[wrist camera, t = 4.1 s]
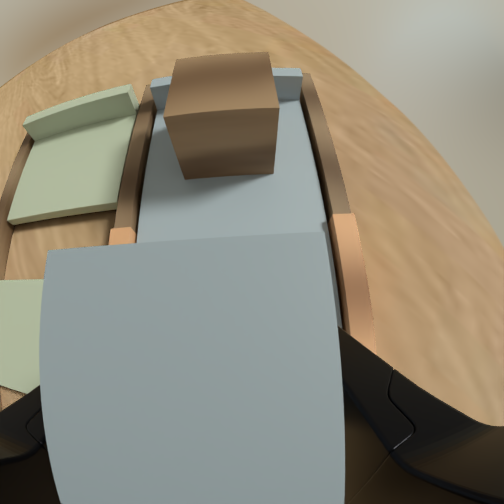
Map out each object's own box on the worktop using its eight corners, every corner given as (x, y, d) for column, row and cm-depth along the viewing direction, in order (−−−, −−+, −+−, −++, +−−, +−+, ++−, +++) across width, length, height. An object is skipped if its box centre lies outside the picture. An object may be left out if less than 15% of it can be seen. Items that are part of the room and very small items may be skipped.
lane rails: (358, 565, 8) (366, 579, 7) (24, 524, 8) (12, 530, 6) (308, 88, 20) (311, 71, 19) (42, 128, 20) (33, 116, 18)
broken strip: (114, 409, 12) (85, 417, 9) (-3, 382, 12) (-33, 379, 9) (142, 112, 19) (130, 83, 16) (42, 138, 19) (27, 116, 16)
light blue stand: (343, 404, 12) (533, 471, 2) (142, 412, 12) (-52, 469, 1) (296, 99, 19) (313, -44, 9) (161, 109, 19) (122, -27, 8)
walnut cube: (273, 173, 16) (279, 108, 11) (184, 179, 16) (163, 117, 11) (265, 114, 18) (267, 52, 13) (190, 119, 18) (176, 59, 13)
